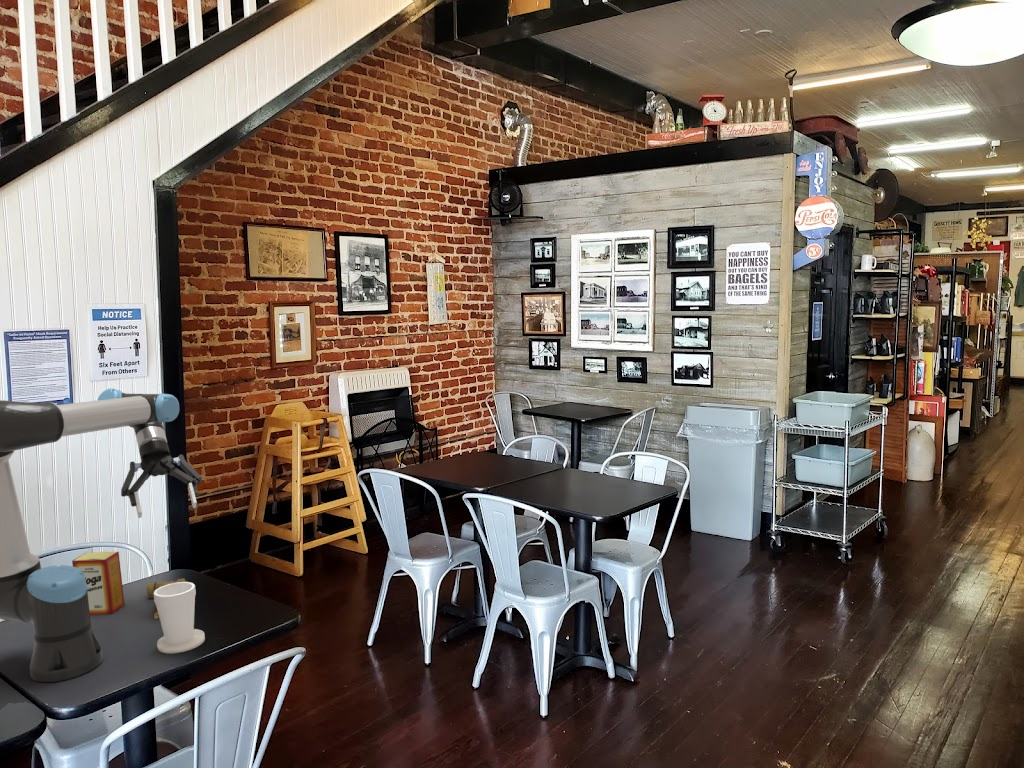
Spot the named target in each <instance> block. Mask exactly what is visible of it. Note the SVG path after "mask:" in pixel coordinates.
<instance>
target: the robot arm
mask: <svg viewBox="0 0 1024 768" xmlns="http://www.w3.org/2000/svg"><path fill="white" fill-rule="evenodd" d="M179 413H180V403H179V400H178V398H177V397H175V396H174V395H173V394H169V393H125V392H122V391H121V390H120V389H116V388H106V389H105V390H103V391H102V392H101V393H100V394H99V395H98V398H97V400H90V401H83V402H73V403H63V404H56V403H55V402H52V401H43V402H30V401H29V402H28V401H27V402H26V401H14V400H13V401H12V400H5V399H4V400H3V399H2V400H0V619H1V620H3V621H16V622H22V623H23V622H24V623H26V624H27V623H28V624H32V629H33V637H34V646H33V650H32V654H31V657H30V663H29V667H28V670H29V674H30V675H29V676H30V679H31V680H33V681H35V682H40V683H53V682H54V683H55V682H61V681H66V680H69V679H72V678H73V679H74V678H76V677H79V676H81V675H84V674H86V673H89V672H91V671H93V670H94V669H95V668H97V667H98V666H99V665H100V664H102V663H103V660H104V654H103V648H102V646H101V644H100V643H99V640H98V639H97V637H96V635H95V633H94V631H93V629H92V622H91V615H90V612H89V602H88V592H87V583H86V580H85V576H84V573H83V572H82V571H81V570H80V569H78V568H76V567H73V565H72V566H71V565H66V564H65V565H58V566H57V565H52V566H45V567H43V568H42V565H41V561H40V557H39V556H37V555H36V554H34V553H31V552H30V546H29V542H28V537H27V533H26V529H25V525H24V520H23V517H22V514H21V513H22V512H21V508H20V505H19V499H18V496H17V491H16V486H15V482H14V478H13V474H12V470H11V465H10V461H9V460H10V458H11V457H12V456H13V454H15V451H19V450H23V449H28V448H32V447H37V446H42V445H46V444H47V445H48V444H51V443H53V444H54V443H55V442H58V441H60V440H61V439H62V437H69V436H73V435H74V436H75V435H80V434H86V433H95V432H98V431H105V430H111V429H112V430H113V429H117V428H118V429H119V428H123V427H130V428H132V429H133V430H134V433H135V438H136V443H137V447H138V448H137V449H138V453H139V456H140V462H139V463H137V462H136V463H135V461H130V463H129V470H128V473H127V475H126V477H125V479H124V482H123V485H122V487H121V491H120V496H121V497H128V498H129V501H130V506H131V507H135V508H136V512H137V517H138V519H142V516H143V515H142V514H143V511H142V505H141V501H140V496H139V493H138V491H140V489H141V487H142V486H143V485H144V484H145V482H146V481H147V480H148V479H149V478H150V477H151V476H152V477H153V478H154V477H158V476H166V474H167V475H170V476H171V477H175V478H176V479H178V480H179V481H181V482H183V483H185V484H186V485H187V486H188V487H187V490H188V494H189V498H190V501H191V505H192V508H193V509H195V508H197V504H198V501H197V499H196V497H197V496H198V493H199V490H198V487H197V485H201V483H202V479H203V476H202V475H201V474H200V473H199V472H197V471H196V469H194V467H192V466H191V464H189V463H188V462H187V460H186V459H185V456H184V455H183V454H179V455H178V456H177V457H172V455H171V451H170V448H169V444H168V439H167V436H166V432H165V428H164V424H163V423H169V422H173V421H174V420H176V419H177V418H178V416H179ZM174 464H176V465H177V466H179V467H180V468H181V469H182V470H183V471H182V470H180V469H179V468H177V467H176V465H174ZM139 469H141V470H142V473H141V474H140V476H139V477H138V478H137V480H136V481H135V482H134V483H133V479H134V477H135V473H136V472H138V471H139ZM132 483H133V485H132Z"/></svg>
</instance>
